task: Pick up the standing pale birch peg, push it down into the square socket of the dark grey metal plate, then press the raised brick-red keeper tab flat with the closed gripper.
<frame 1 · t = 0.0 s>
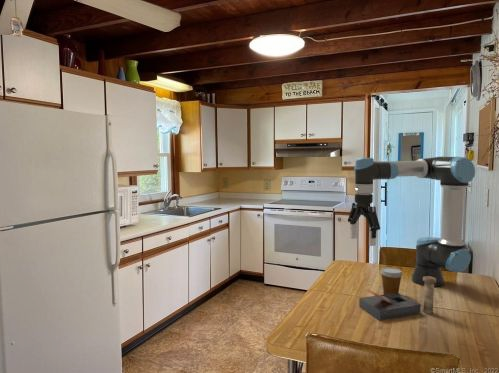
hand: (362, 241, 162), 28 cm above the table, fingers open, 13 cm apart
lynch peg: (428, 312, 156), on the table
disposable coffee cup: (390, 295, 175), on the table
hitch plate: (389, 310, 158), on the table
keeper tab: (379, 296, 156), point 7 cm above the table, hinge at 30.0°
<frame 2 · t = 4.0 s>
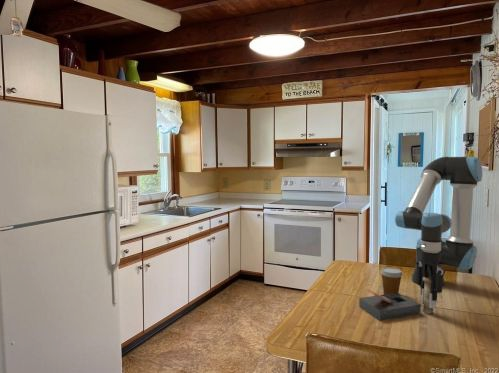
hand: (428, 305, 155), 3 cm above the table, fingers closed on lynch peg, 3 cm apart
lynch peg: (428, 312, 156), on the table, touching gripper
everything else where it was.
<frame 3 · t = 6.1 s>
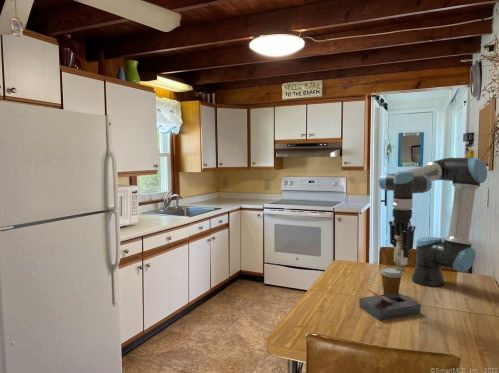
hand: (400, 263, 158), 20 cm above the table, fingers closed on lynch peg, 3 cm apart
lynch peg: (400, 270, 158), point 17 cm above the table, touching gripper
everything else where it was.
when the fingers open (6 cm above the table, at t = 8.3 s): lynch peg drops 3 cm, resting in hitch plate.
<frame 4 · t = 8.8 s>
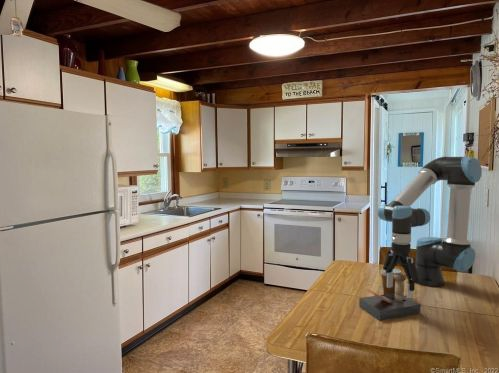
hand: (399, 292, 159), 7 cm above the table, fingers open, 12 cm apart
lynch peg: (398, 308, 159), resting in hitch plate
everything else where it was.
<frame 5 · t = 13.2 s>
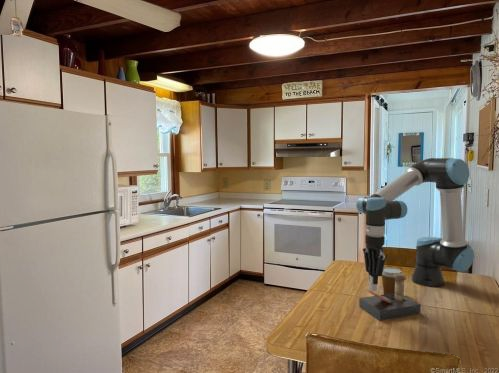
hand: (373, 290, 155), 10 cm above the table, fingers closed
keeper tab: (379, 296, 156), point 7 cm above the table, hinge at 29.0°, touching gripper
everything else where it was.
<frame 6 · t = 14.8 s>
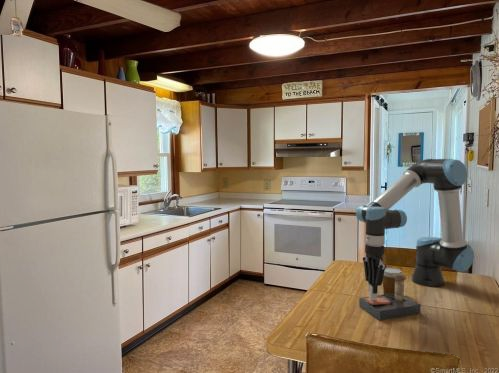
hand: (372, 299, 155), 6 cm above the table, fingers closed
keeper tab: (378, 300, 156), point 5 cm above the table, hinge at 5.3°, touching gripper
everything else where it was.
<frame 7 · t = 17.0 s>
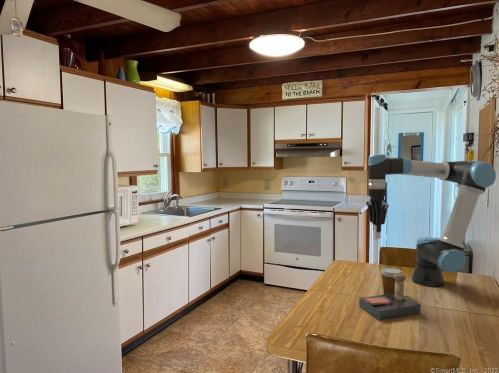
hand: (377, 238, 173), 27 cm above the table, fingers closed
keeper tab: (378, 300, 156), point 5 cm above the table, hinge at 5.2°
everything else where it was.
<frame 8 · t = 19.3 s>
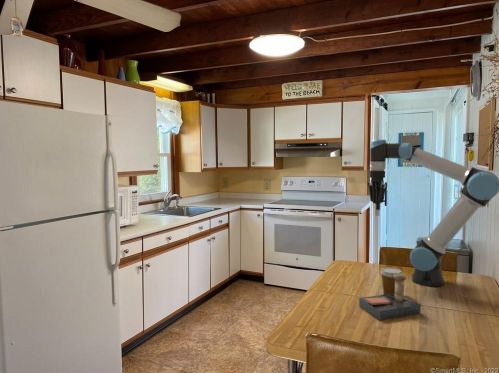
hand: (376, 215, 191), 34 cm above the table, fingers closed
nothing on the table moved.
at the end: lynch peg 0.0 cm from the target spot in the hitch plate, point 0.0 cm above the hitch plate's base; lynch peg tilted 0°; keeper tab at +5° (first picture: +30°) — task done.
